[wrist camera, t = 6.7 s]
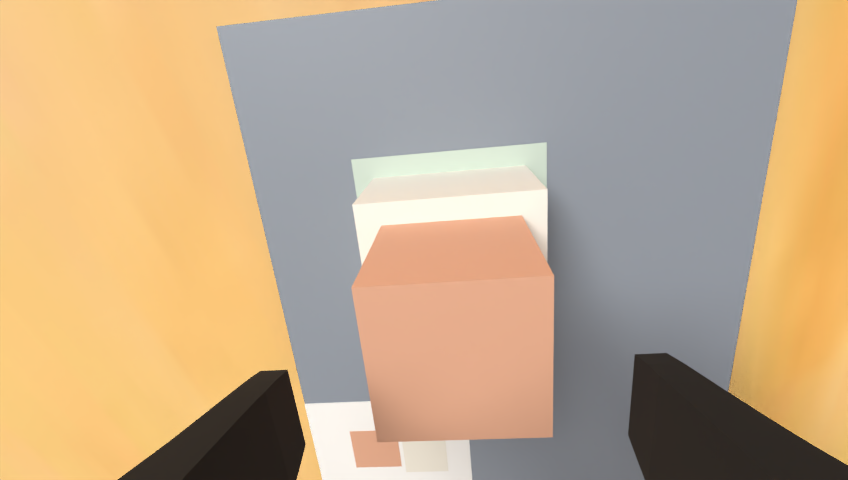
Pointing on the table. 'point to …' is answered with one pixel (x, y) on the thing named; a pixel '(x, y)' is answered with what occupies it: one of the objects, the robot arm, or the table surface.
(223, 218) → the table surface
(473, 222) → the orange cube
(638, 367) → the robot arm
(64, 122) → the table surface
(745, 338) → the table surface
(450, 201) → the cream base block
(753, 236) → the board
